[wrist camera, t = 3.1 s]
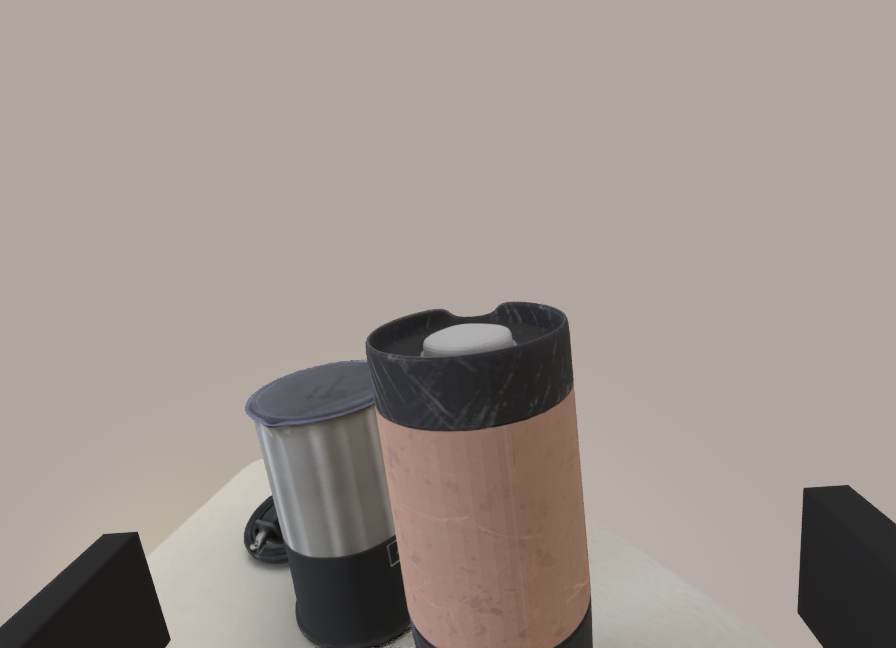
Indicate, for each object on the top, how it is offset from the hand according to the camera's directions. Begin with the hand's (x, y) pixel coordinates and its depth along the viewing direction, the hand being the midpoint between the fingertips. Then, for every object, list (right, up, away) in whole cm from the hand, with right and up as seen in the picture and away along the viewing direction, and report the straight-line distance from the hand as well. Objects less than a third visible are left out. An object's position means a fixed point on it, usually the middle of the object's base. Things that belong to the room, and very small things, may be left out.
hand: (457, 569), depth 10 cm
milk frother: (-8, -13, +27) cm, 31 cm away
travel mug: (+3, -15, +14) cm, 20 cm away
